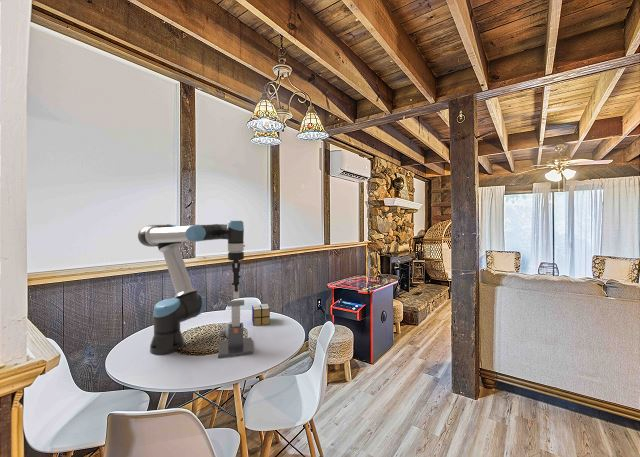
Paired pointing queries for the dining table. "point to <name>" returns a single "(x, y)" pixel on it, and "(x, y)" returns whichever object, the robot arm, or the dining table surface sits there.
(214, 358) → the dining table surface
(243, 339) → the jack stand base
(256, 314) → the puzzle cube
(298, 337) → the dining table surface
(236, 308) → the post
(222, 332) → the bunny figurine
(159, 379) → the dining table surface
